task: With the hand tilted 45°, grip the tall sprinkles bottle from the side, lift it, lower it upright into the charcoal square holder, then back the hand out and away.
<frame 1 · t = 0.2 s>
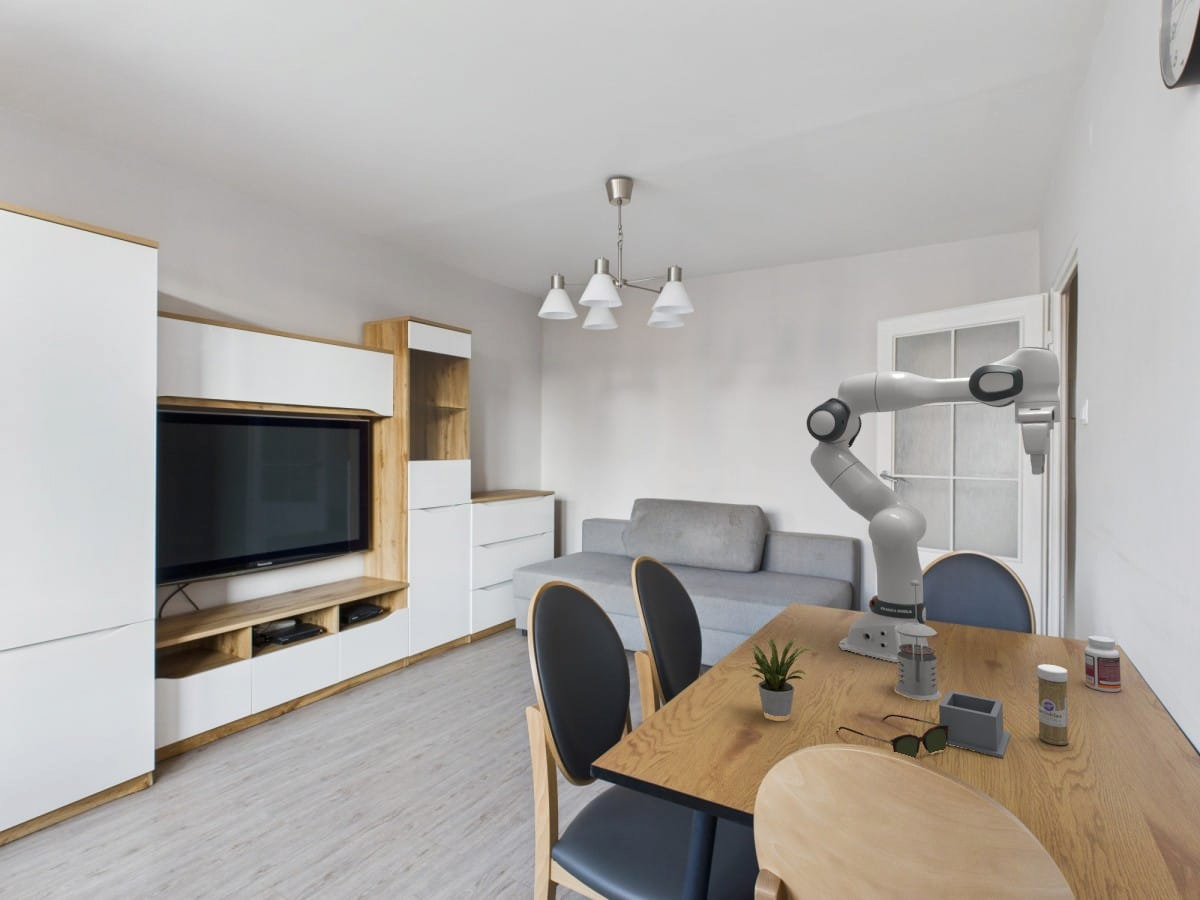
hand: (1038, 474, 148), 48 cm above the table, fingers open, 8 cm apart
french press: (917, 694, 139), on the table
square holder: (971, 738, 117), on the table
pill bottle: (1102, 688, 141), on the table
house plant: (783, 716, 129), on the table
sprinkles bottle: (1053, 741, 116), on the table
sunglasses: (888, 744, 117), on the table
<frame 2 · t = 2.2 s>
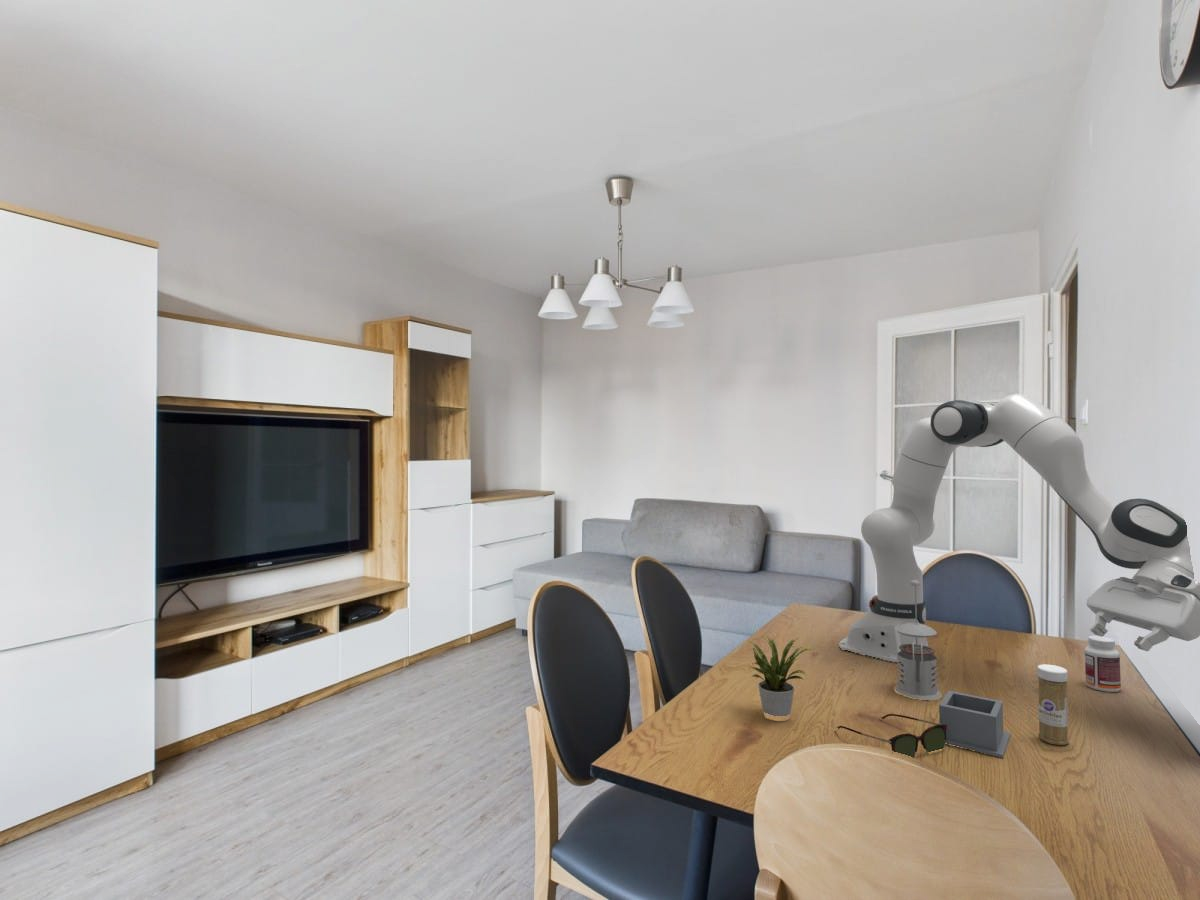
hand: (1116, 640, 117), 18 cm above the table, fingers open, 8 cm apart
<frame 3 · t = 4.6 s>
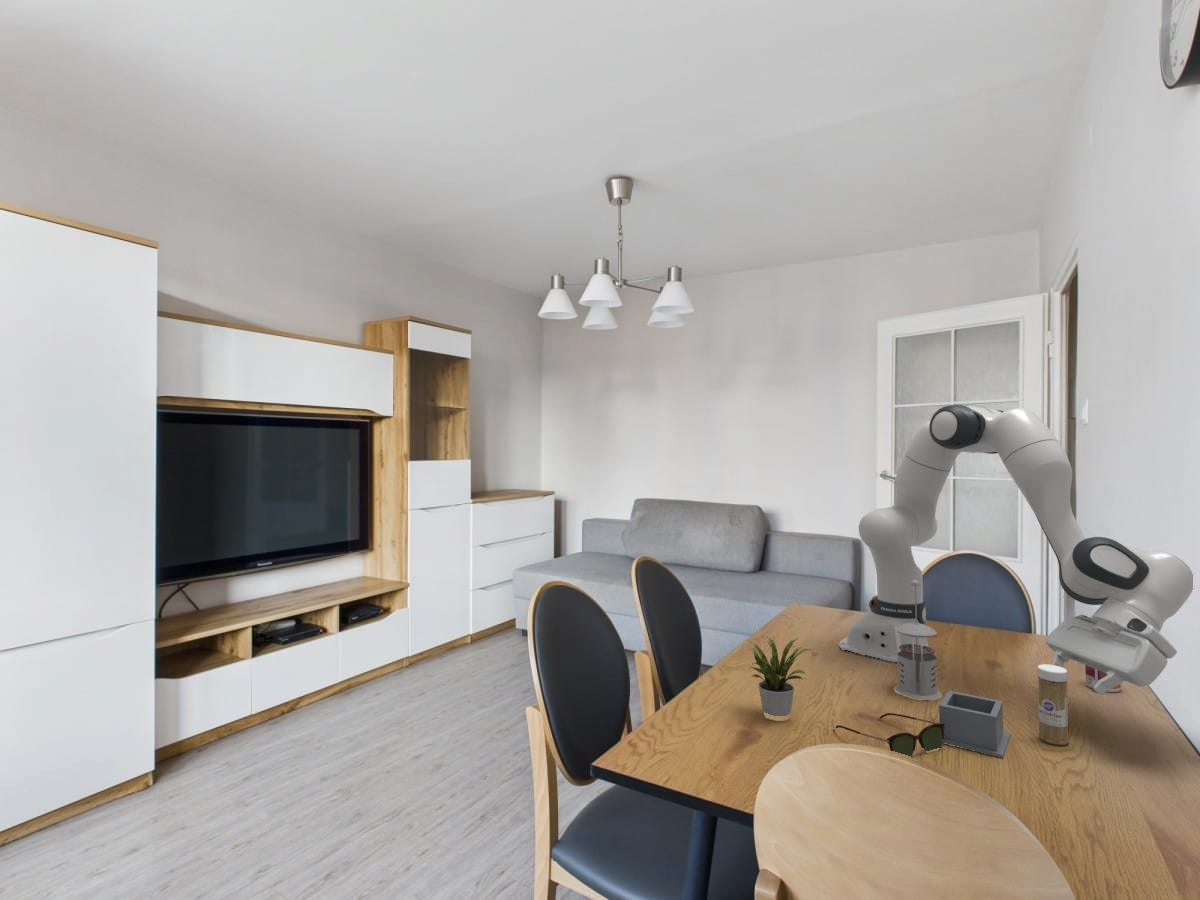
hand: (1073, 681, 116), 11 cm above the table, fingers open, 8 cm apart
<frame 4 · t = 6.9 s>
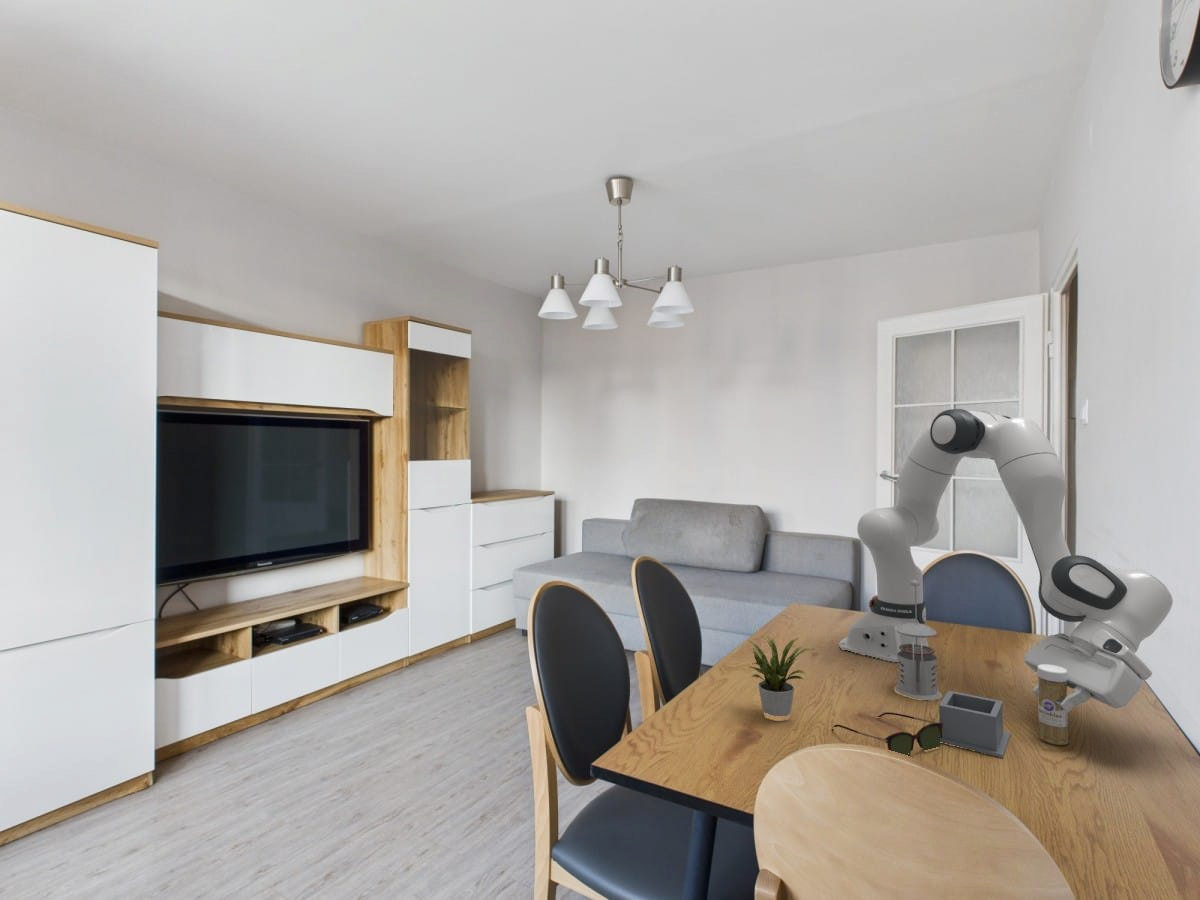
hand: (1049, 701, 116), 7 cm above the table, fingers closed on sprinkles bottle, 4 cm apart
sprinkles bottle: (1053, 741, 116), on the table, touching gripper
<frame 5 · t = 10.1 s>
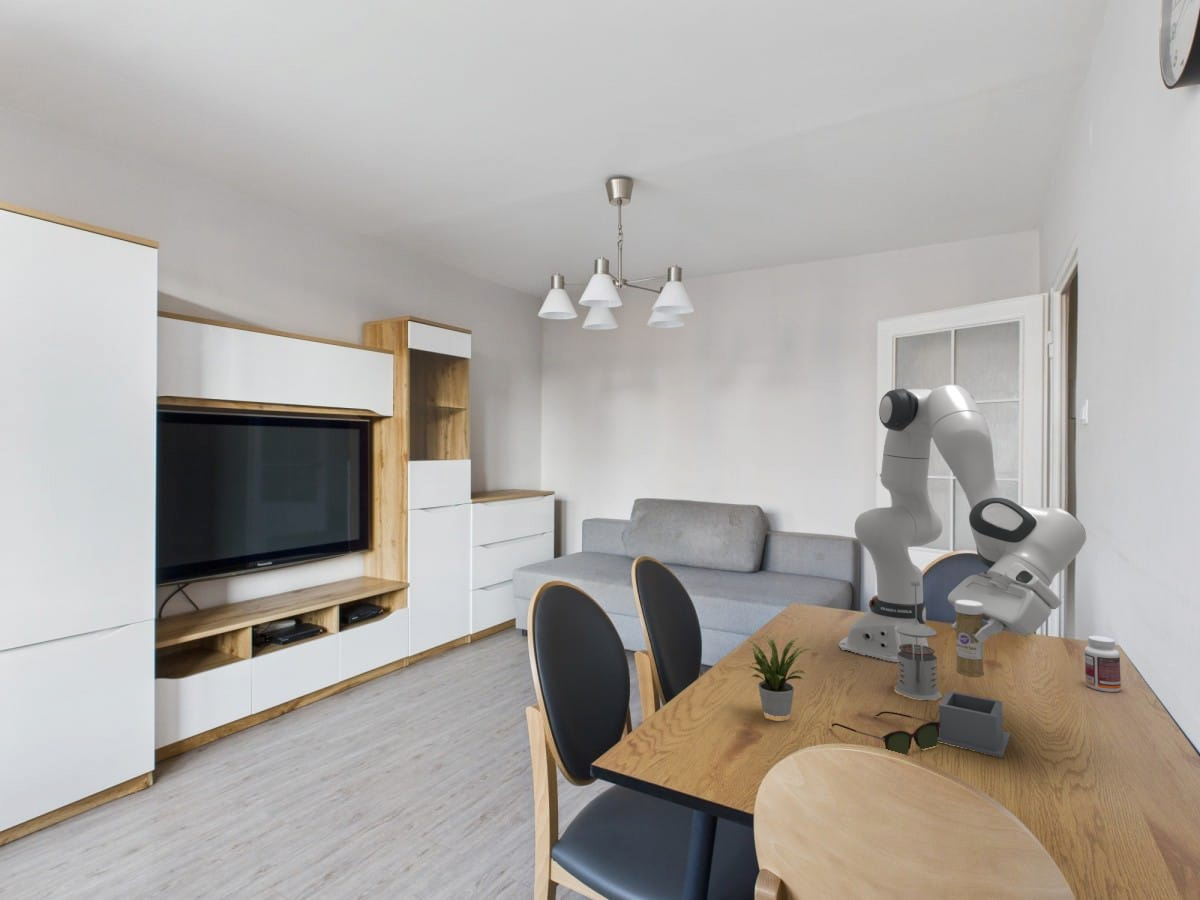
hand: (966, 635, 117), 19 cm above the table, fingers closed on sprinkles bottle, 4 cm apart
sprinkles bottle: (970, 675, 117), point 12 cm above the table, touching gripper
when the fingers open (9 cm above the table, at t = 13.2 s): sprinkles bottle drops 1 cm, resting on square holder.
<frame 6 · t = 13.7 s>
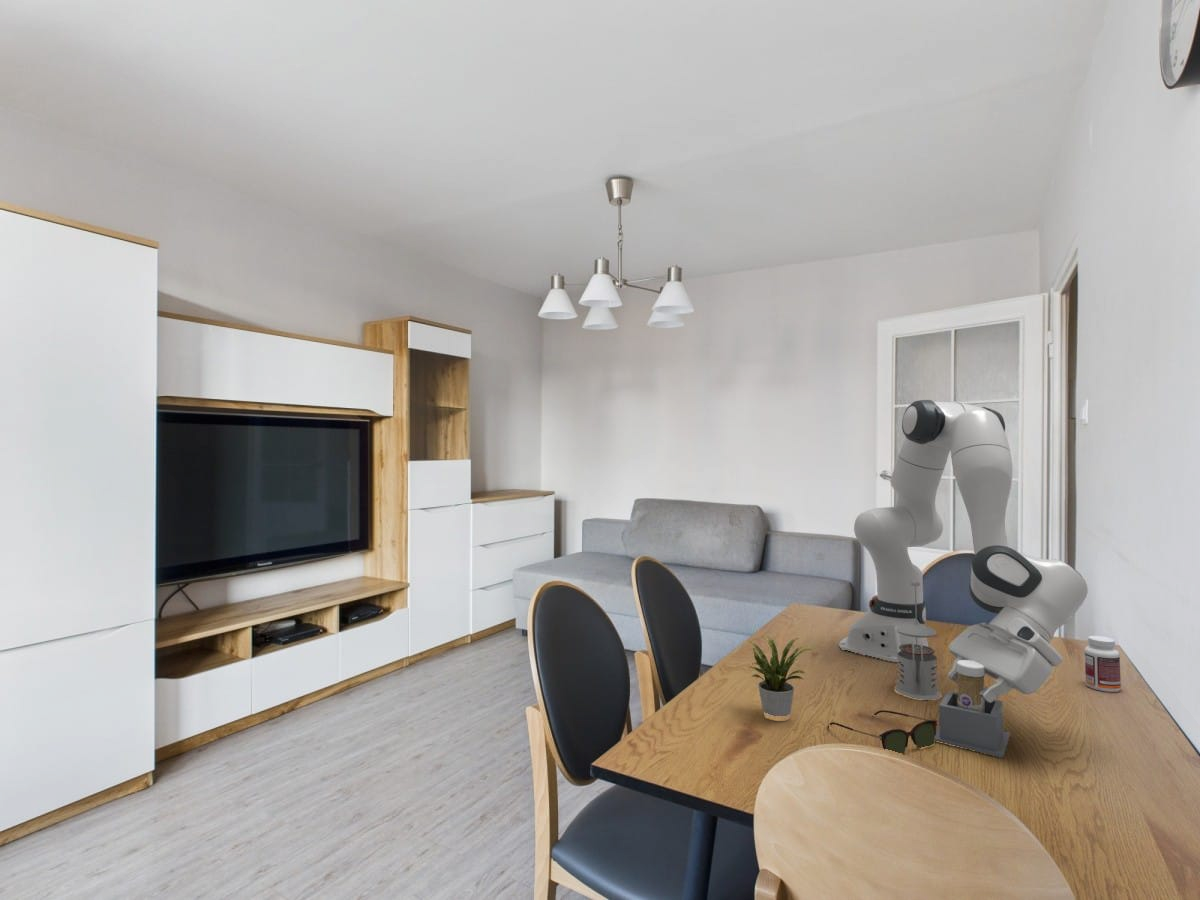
hand: (967, 689, 117), 9 cm above the table, fingers open, 8 cm apart
sprinkles bottle: (971, 736, 117), resting on square holder
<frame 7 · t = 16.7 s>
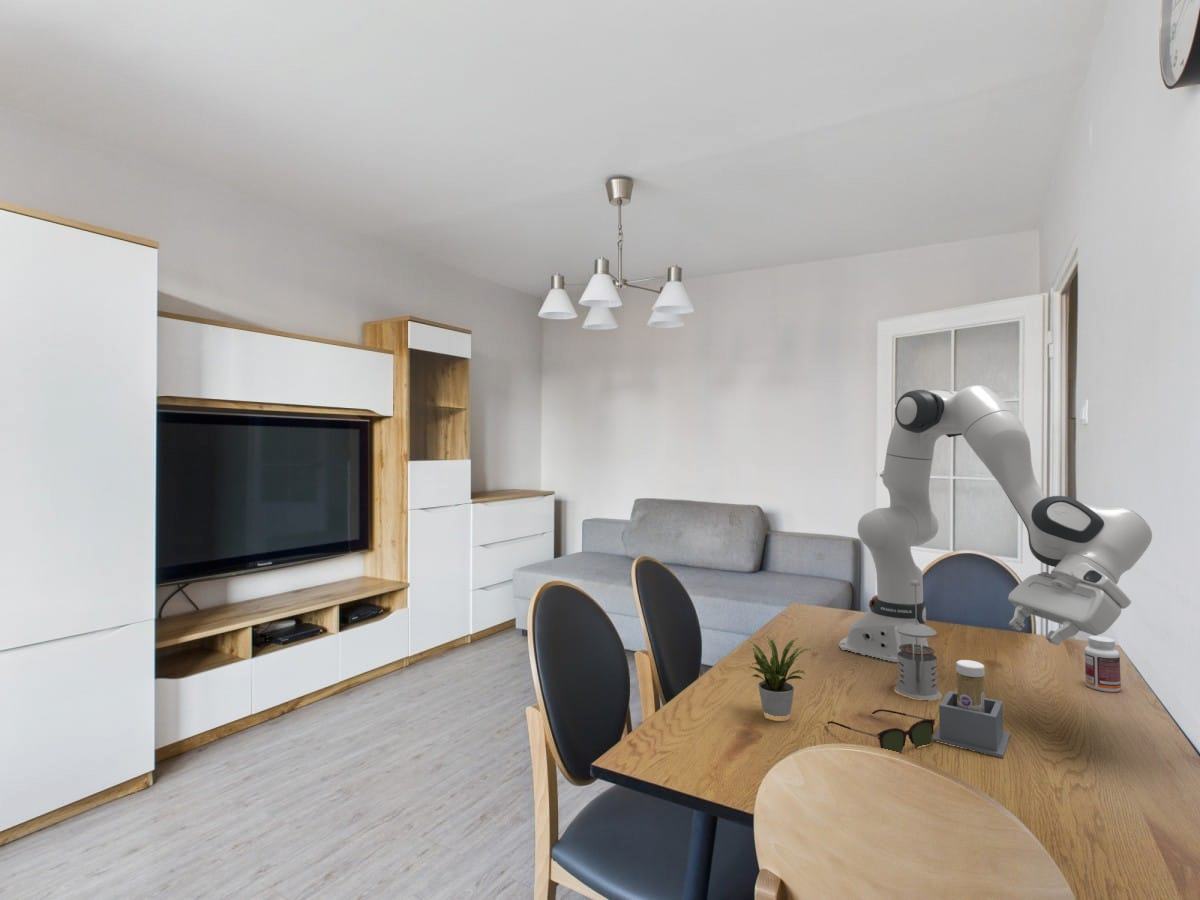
hand: (1031, 634, 118), 19 cm above the table, fingers open, 8 cm apart
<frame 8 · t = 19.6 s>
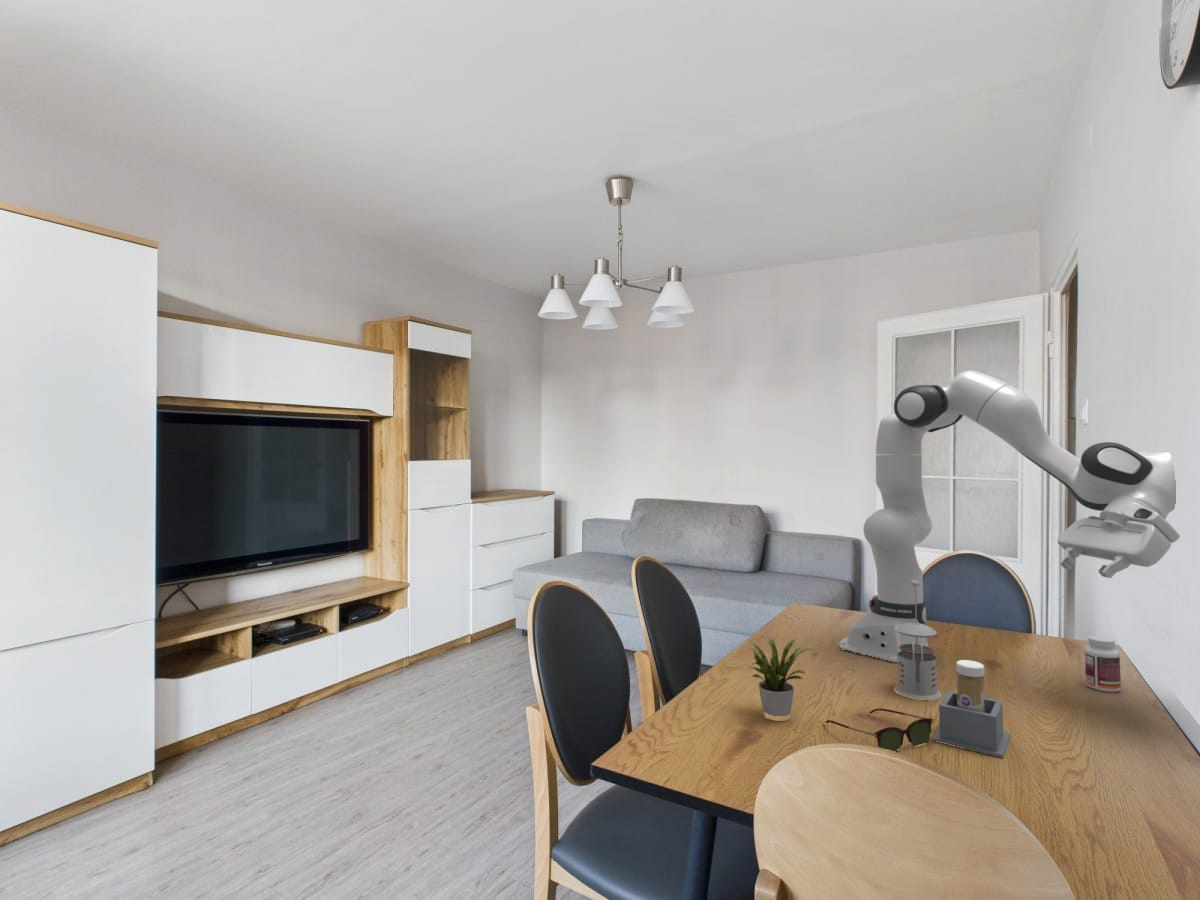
hand: (1083, 570, 125), 29 cm above the table, fingers open, 8 cm apart
at the end: sprinkles bottle 0.0 cm off-centre on the square holder, point 0.4 cm above the square holder's base; sprinkles bottle tilted 0°; the gripper is holding nothing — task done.
